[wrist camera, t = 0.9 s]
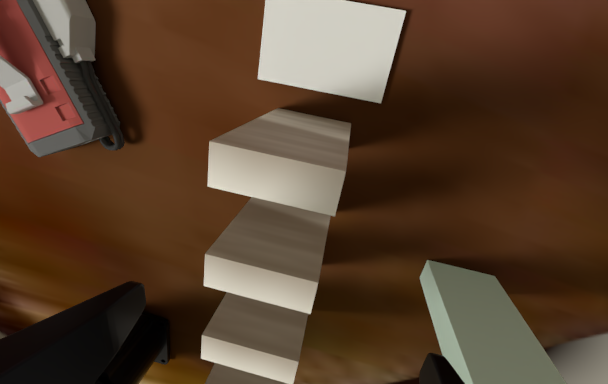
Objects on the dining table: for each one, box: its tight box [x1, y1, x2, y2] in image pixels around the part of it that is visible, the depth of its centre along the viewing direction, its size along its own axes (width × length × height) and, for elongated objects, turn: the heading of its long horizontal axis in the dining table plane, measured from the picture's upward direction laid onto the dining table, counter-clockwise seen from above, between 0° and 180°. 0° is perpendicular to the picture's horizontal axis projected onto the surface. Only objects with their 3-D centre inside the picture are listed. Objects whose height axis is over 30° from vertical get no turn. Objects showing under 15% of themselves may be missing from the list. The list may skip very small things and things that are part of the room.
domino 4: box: [205, 363, 287, 384], centre depth 21 cm, size 2×5×10 cm, turn 81°
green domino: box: [420, 260, 566, 384], centre depth 18 cm, size 2×5×10 cm, turn 80°
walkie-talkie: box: [0, 0, 125, 157], centre depth 18 cm, size 9×4×20 cm
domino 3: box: [201, 292, 308, 384], centre depth 19 cm, size 2×5×10 cm, turn 80°
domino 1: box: [208, 108, 351, 216], centre depth 15 cm, size 2×5×10 cm, turn 80°
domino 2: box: [204, 197, 331, 314], centre depth 17 cm, size 2×5×10 cm, turn 80°
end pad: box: [258, 0, 406, 103], centre depth 17 cm, size 5×8×1 cm, turn 80°
